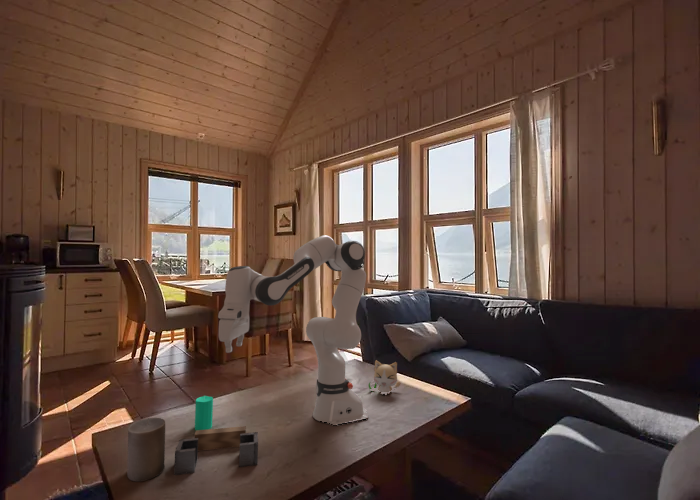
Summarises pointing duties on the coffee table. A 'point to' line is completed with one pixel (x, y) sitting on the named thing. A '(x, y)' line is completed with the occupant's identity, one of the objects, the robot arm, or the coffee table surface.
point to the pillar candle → (146, 449)
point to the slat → (219, 438)
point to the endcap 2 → (248, 449)
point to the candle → (203, 413)
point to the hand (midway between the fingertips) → (234, 349)
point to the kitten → (385, 376)
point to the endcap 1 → (186, 456)
